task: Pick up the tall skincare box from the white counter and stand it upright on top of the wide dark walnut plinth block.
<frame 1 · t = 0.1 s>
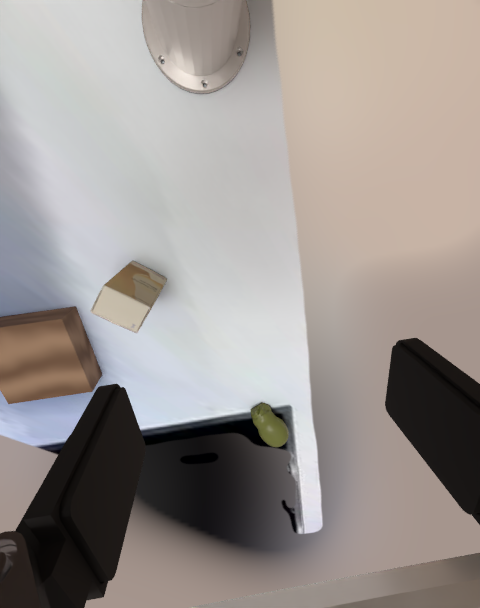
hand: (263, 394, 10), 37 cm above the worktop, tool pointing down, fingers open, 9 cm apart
walnut block: (50, 347, 49), on the worktop
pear: (266, 415, 60), on the worktop
skincare box: (144, 279, 45), on the worktop
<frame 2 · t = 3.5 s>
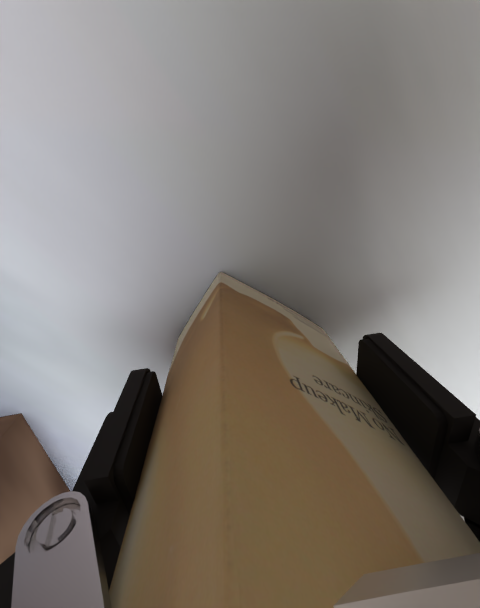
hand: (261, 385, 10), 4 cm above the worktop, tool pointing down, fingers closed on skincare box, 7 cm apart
skincare box: (247, 331, 14), on the worktop, touching gripper
when the fingers open (9 cm above the worktop, at t = 10.6 s): skincare box stays where it is, resting on walnut block.
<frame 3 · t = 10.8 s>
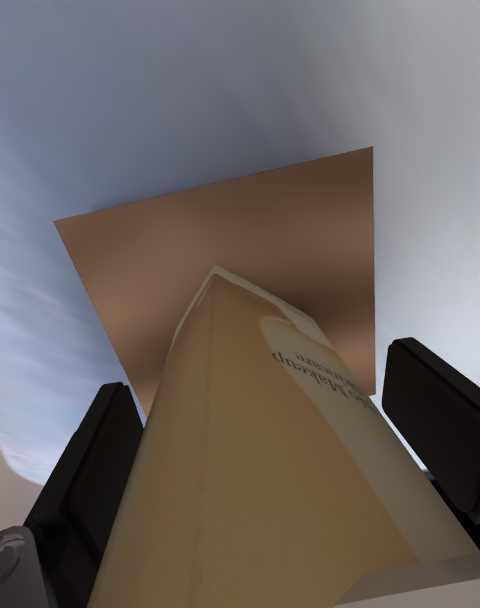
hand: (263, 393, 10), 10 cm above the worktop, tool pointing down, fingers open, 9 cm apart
walnut block: (237, 291, 19), on the worktop, touching skincare box
skincare box: (242, 321, 15), point 4 cm above the worktop, touching walnut block
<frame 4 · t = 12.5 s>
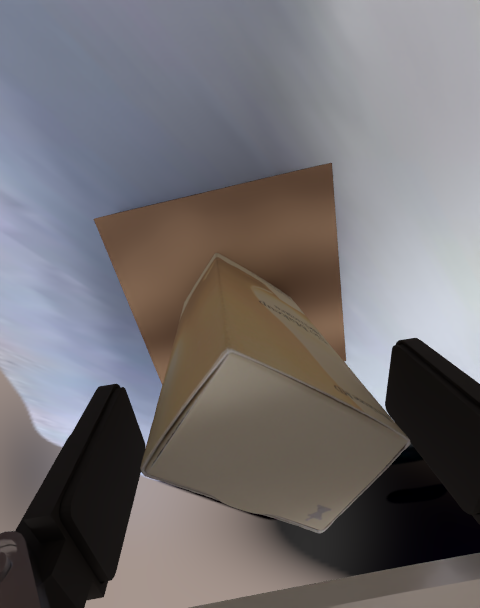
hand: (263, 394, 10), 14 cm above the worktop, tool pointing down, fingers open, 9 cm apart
walnut block: (233, 278, 23), on the worktop, touching skincare box
skincare box: (236, 299, 19), point 4 cm above the worktop, touching walnut block
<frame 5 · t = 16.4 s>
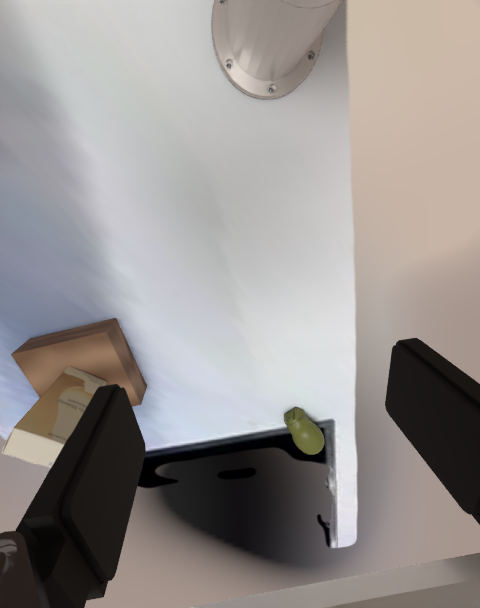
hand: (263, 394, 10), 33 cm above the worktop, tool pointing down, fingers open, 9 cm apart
walnut block: (93, 362, 47), on the worktop
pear: (299, 420, 57), on the worktop
skincare box: (82, 382, 43), point 4 cm above the worktop
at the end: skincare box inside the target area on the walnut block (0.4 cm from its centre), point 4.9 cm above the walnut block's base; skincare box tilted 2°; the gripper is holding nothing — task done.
